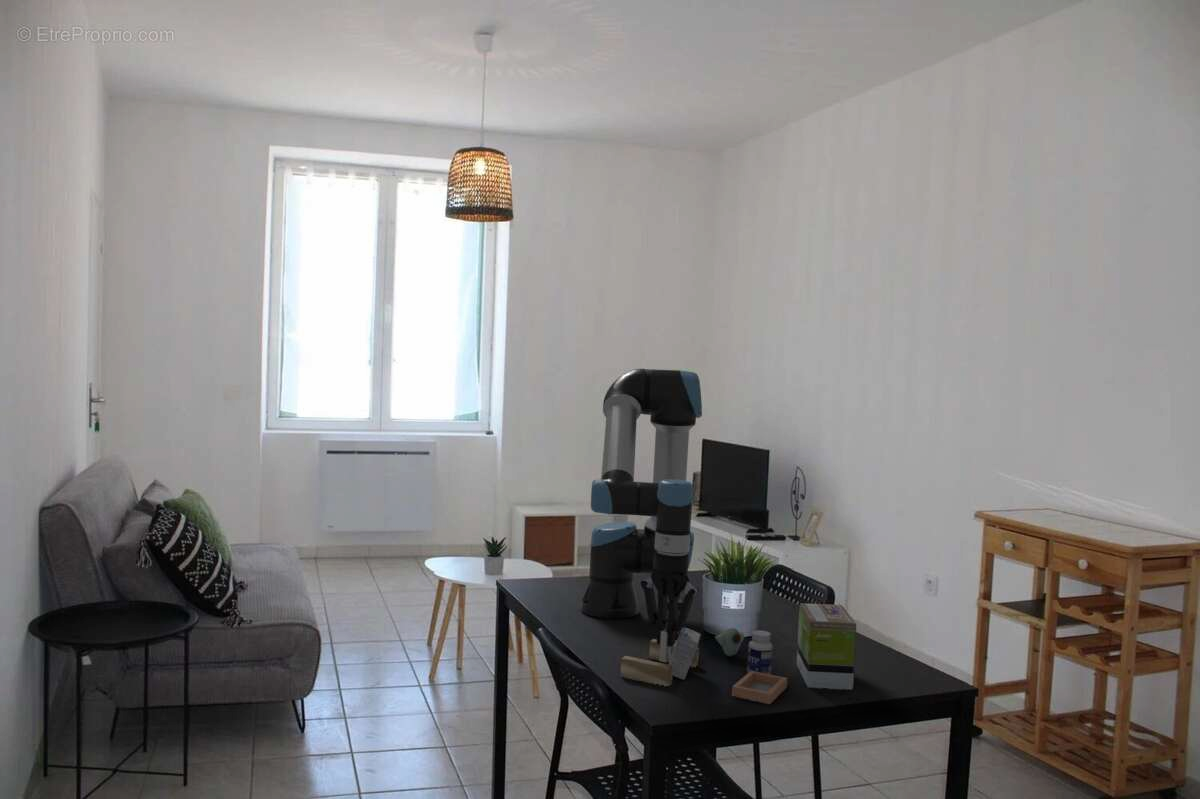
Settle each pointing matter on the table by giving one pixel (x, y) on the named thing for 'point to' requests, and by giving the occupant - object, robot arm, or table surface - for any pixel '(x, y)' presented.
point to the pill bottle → (760, 652)
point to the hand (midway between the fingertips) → (664, 659)
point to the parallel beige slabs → (651, 667)
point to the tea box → (826, 646)
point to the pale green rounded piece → (730, 641)
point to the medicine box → (684, 652)
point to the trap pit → (759, 687)
